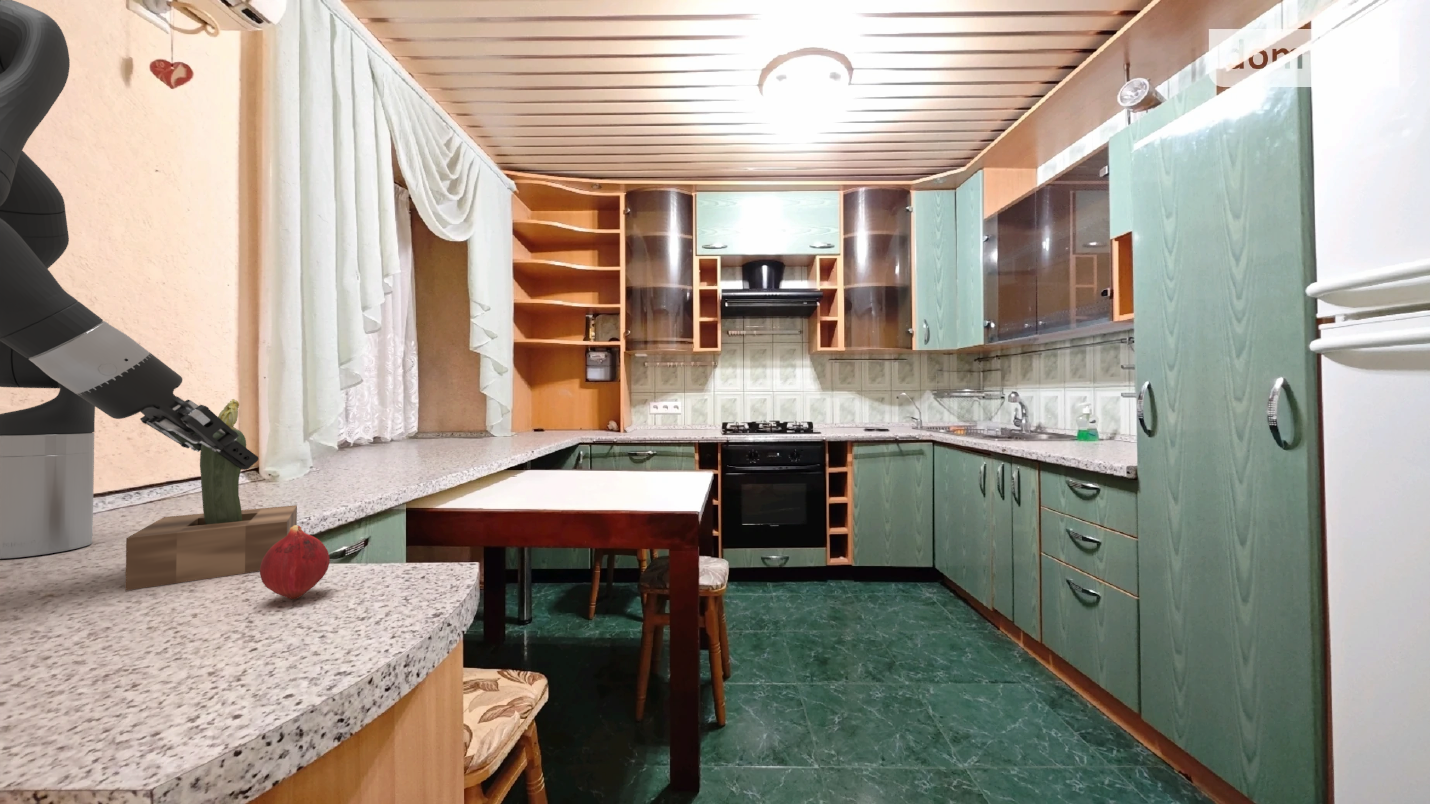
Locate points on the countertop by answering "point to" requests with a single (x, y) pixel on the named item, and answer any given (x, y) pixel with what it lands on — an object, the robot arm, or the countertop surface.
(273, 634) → the countertop surface
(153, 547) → the socket block
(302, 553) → the onion
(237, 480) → the vegetable
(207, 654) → the countertop surface
